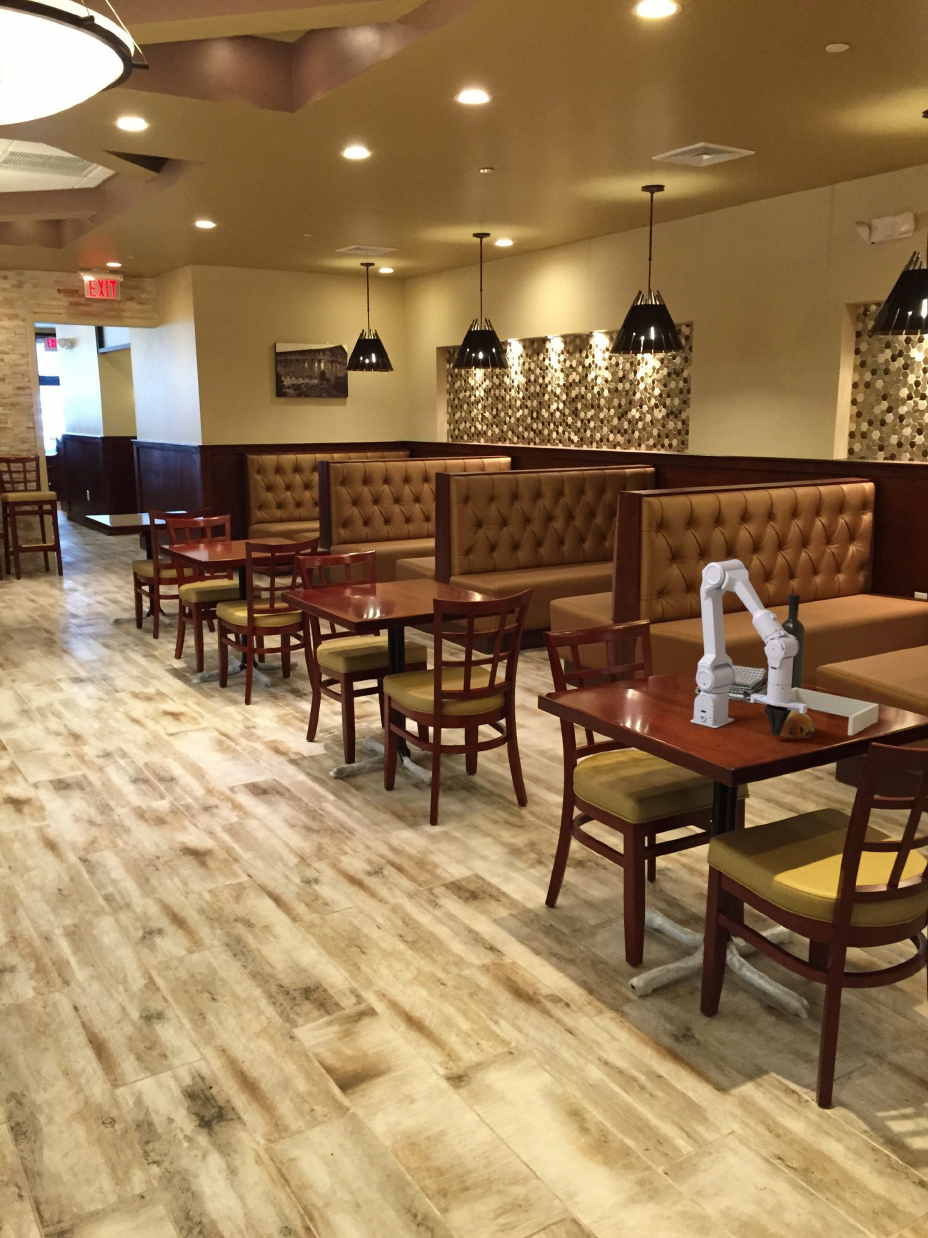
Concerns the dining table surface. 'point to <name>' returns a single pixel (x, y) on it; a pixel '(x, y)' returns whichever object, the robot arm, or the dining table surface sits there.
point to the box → (839, 707)
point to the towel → (746, 683)
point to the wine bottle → (798, 632)
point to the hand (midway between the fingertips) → (776, 734)
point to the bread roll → (798, 726)
